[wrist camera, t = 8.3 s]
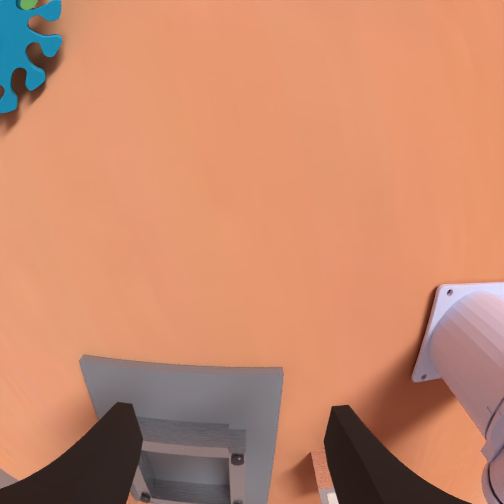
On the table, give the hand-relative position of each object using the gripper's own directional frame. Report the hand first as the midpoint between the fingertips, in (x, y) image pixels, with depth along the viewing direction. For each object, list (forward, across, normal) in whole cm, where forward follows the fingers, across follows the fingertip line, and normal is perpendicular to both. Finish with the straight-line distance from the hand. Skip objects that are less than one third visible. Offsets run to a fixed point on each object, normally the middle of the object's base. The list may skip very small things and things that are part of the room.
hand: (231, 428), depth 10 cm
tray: (+9, +4, +14) cm, 17 cm away
